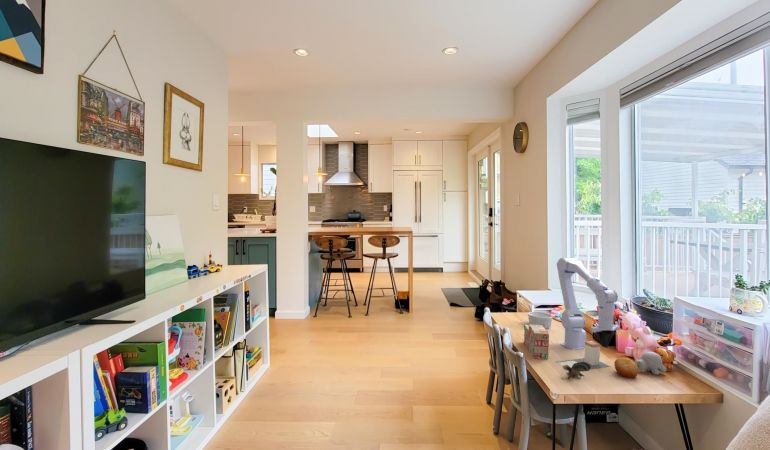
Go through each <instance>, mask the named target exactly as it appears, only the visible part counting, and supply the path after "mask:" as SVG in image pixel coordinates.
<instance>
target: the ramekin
mask: <svg viewBox="0 0 770 450" xmlns="http://www.w3.org/2000/svg"><path fill="white" fill-rule="evenodd" d="M527 316H528V317H527V318H528V325H529V324H531V325H542V326H543V327H544V328H545V329H546V330H548V329H550V328H551V326H552V320H553V315H552V314H550V313H547V312H544V311H542V312H541V311H529V312H528V313H527Z"/></svg>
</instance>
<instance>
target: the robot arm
mask: <svg viewBox="0 0 770 450" xmlns="http://www.w3.org/2000/svg"><path fill="white" fill-rule="evenodd" d="M583 264H584V263H583V261H582V260H581V259H580V258H578V257H574V258H570V257H568V258H566V257H565V258H564V257H561V258H559V259H558V260H557V262H556V269H557V273H558V279H559V280H558V281H559V285H560V290H561V295H562V301H563V305H564V311H562V312H561V314H560V315H561V319H560V320H561V324H562V327H563V329H564V342H560V346H561V345H562V346H564V347H566V348H568V349H569V350H581V349H582V350H583V349H585V342H586V341H587V335H588V334H587V331H586V330H585V329H584V328H585V327H586V324H587V323H586V322H587V321H586V319H585V317H584V314H583V312H582V311H581V310H579V309H578V306H577V301H576V296H575V291H574V286H573V282H572V277H573V275H574V274H575V275H576V274H577V275H578V276H579V277H581V279H583V280H584V281H585V282H586V286H587V287H588V288H589V290H591V292H592V293H594V294H595V298H596V301H597V305H598V316H597V317H598V319H597V325H593V326H591V327H590V332H591V333H596V334H597V336H598V338H599V341H600V346H601V347H602V348H607V349H608V348H609V344H610V342H611V340H612V338H613V336H615V331H621V330H620V329H621V326H620V325H618V324H614V319H615V318H614V313H615V312H614V311H615V303H616V302H617V301H618V293H617V292H616V290H615V289H611V288H609V287H608V286H607V285H605V284H604V283H603V282H602V280H601V279H600V278H599V277H593V276H592V274H591V273H590V272H589V270H587V269H586V267H585V266H584V265H583Z"/></svg>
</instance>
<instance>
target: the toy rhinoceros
mask: <svg viewBox="0 0 770 450" xmlns="http://www.w3.org/2000/svg"><path fill="white" fill-rule="evenodd" d="M633 360H634V362H635V363H636V364H637V366H638V373H639V374H640V373H642V371H644V370H646V371H648V372H651V374H652V375H656V376H658V375H660V373H666V372H667V368H666V366H665V365H664V364H663V359H662V358H661V356H660V355H659V354H658V353H656V352H654V351H644V352H643V353H642V354H641V355H640V359H638V358H637V359H636V358H635V357H633ZM638 373H637V374H638Z"/></svg>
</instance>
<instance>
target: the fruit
mask: <svg viewBox="0 0 770 450" xmlns="http://www.w3.org/2000/svg"><path fill="white" fill-rule="evenodd" d="M614 369H615V371H616V373H618V375H619V376H621V377H624V378H636V377H637V376H638V366H637V364H636V363H635V360H633V359H631V358H629V357H619V358H617V359H616V360H615V361H614Z"/></svg>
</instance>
